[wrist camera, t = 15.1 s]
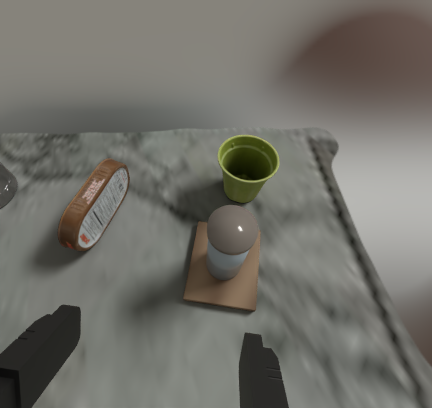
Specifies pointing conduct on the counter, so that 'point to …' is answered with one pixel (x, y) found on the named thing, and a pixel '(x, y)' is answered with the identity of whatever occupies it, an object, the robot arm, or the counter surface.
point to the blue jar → (229, 240)
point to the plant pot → (246, 166)
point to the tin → (94, 206)
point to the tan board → (222, 289)
